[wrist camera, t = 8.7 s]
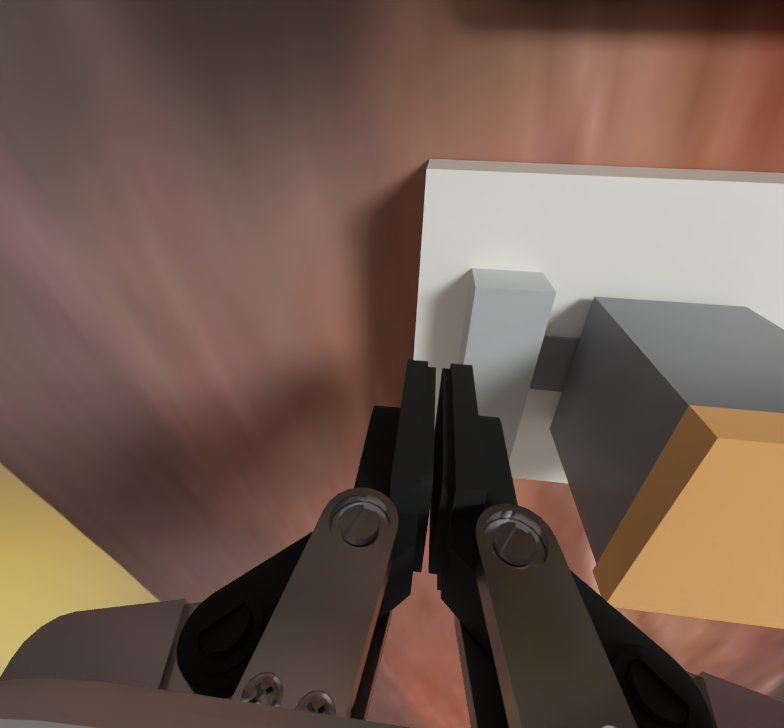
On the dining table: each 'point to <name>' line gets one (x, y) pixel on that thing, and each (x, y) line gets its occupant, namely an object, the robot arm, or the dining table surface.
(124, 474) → the dining table surface
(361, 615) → the robot arm
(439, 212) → the switch panel
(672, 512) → the knob
